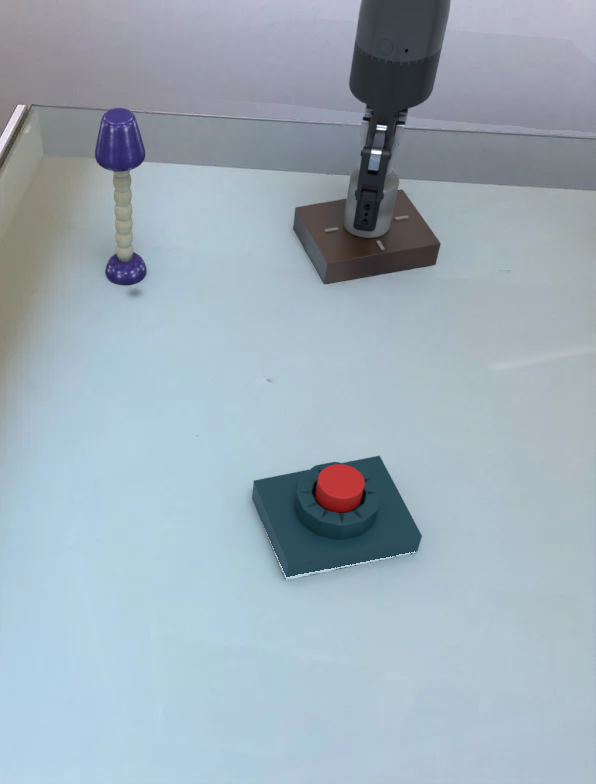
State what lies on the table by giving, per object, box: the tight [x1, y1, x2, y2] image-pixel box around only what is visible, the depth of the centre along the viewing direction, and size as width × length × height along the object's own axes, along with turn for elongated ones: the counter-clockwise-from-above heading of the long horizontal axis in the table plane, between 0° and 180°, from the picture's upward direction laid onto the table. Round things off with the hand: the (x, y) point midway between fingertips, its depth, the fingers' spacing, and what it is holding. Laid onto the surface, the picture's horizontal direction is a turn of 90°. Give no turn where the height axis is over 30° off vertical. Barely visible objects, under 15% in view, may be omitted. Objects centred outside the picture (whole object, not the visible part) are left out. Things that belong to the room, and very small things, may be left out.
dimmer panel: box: [292, 188, 442, 285], centre depth 99 cm, size 12×10×3 cm
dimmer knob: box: [343, 167, 400, 238], centre depth 96 cm, size 5×5×5 cm
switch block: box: [251, 455, 423, 577], centre depth 77 cm, size 11×9×4 cm
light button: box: [315, 464, 365, 513], centre depth 75 cm, size 4×4×2 cm
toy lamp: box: [94, 107, 147, 286], centre depth 92 cm, size 5×5×17 cm
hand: (368, 212), depth 97 cm, fingers closed on dimmer knob, 5 cm apart
